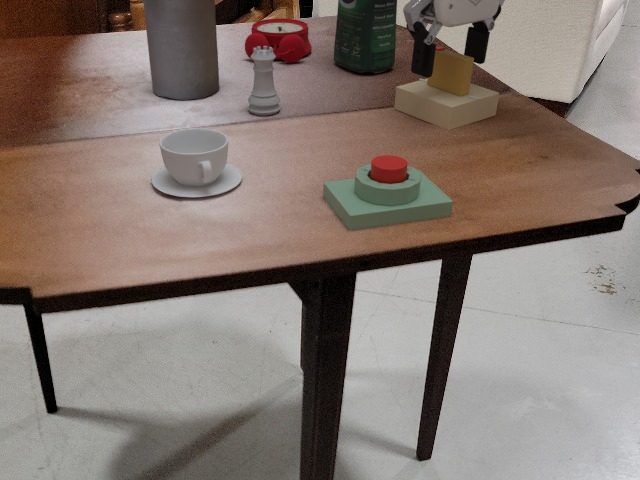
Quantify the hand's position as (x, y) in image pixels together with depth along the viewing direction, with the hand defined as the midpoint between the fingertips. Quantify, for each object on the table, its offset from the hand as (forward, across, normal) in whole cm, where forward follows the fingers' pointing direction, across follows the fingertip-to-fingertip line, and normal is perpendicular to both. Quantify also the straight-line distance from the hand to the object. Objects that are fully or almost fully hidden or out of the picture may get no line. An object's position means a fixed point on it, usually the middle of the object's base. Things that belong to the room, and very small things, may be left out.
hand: (448, 67), depth 95 cm
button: (+2, -25, -16) cm, 30 cm away
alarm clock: (+6, -2, +35) cm, 35 cm away
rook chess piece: (+6, -19, +15) cm, 25 cm away
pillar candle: (+6, -23, +29) cm, 37 cm away
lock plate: (+6, 0, 0) cm, 6 cm away
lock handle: (+3, 0, 0) cm, 3 cm away
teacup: (+6, -38, +1) cm, 38 cm away
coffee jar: (+6, +5, +22) cm, 23 cm away
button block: (+6, -25, -16) cm, 31 cm away
